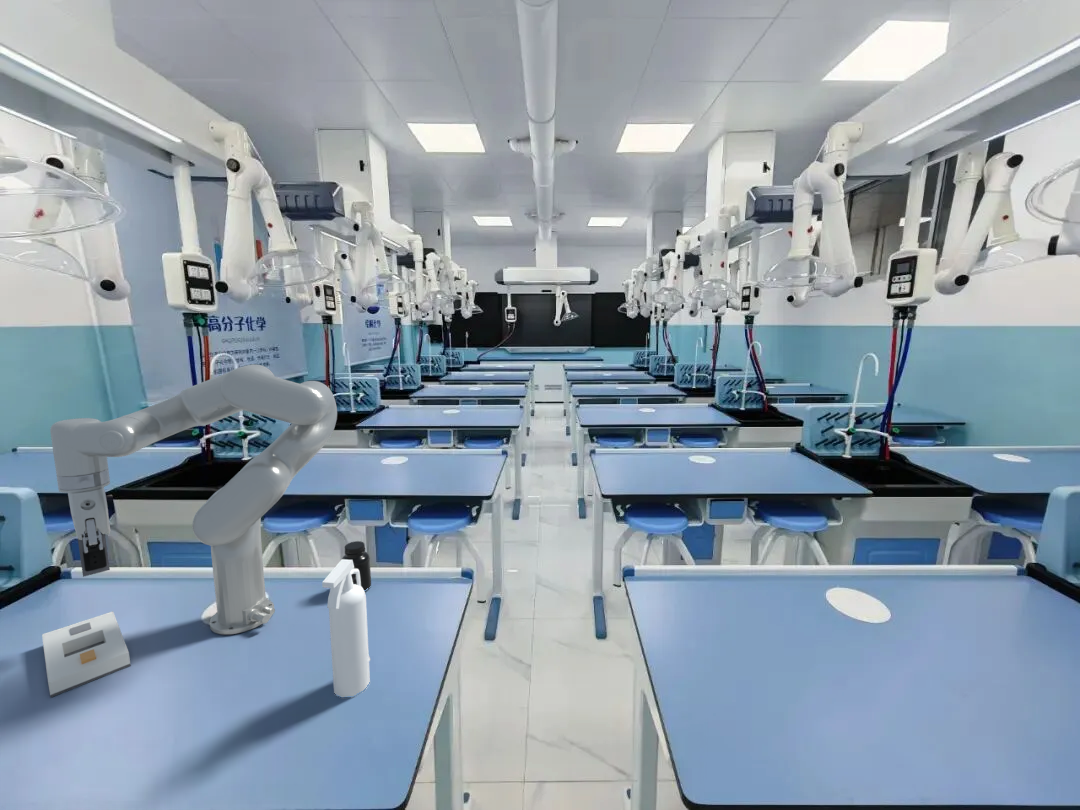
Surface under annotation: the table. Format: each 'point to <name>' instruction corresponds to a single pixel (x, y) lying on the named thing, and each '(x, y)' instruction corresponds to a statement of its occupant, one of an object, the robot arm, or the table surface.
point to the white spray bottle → (348, 630)
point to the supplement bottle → (359, 562)
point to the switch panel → (84, 653)
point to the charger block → (81, 550)
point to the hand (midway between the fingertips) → (95, 563)
